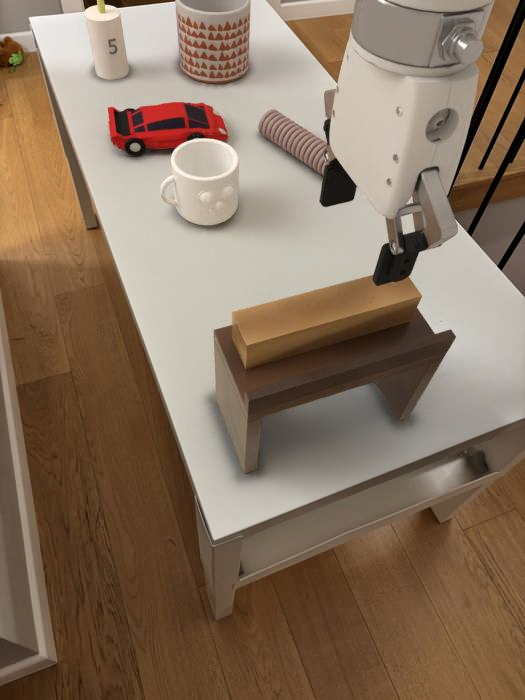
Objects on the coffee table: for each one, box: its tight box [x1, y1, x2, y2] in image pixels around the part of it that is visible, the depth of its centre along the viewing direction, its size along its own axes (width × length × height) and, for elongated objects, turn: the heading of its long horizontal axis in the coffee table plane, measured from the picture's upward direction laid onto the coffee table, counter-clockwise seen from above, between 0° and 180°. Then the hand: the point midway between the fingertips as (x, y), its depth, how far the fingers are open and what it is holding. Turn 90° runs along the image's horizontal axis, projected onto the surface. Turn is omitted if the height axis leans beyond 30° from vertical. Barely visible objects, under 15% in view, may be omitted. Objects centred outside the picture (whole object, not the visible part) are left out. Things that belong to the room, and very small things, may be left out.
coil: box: [257, 108, 329, 176], centre depth 91 cm, size 5×5×18 cm
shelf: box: [213, 307, 457, 475], centre depth 58 cm, size 10×21×16 cm, turn 111°
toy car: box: [107, 101, 229, 157], centre depth 92 cm, size 10×20×5 cm, turn 107°
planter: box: [174, 0, 252, 84], centre depth 103 cm, size 14×14×13 cm
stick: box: [231, 274, 423, 369], centre depth 52 cm, size 4×18×4 cm, turn 111°
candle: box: [83, 0, 130, 81], centre depth 99 cm, size 6×6×15 cm
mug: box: [159, 138, 240, 226], centre depth 80 cm, size 12×10×9 cm
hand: (362, 238), depth 45 cm, fingers open, 9 cm apart
